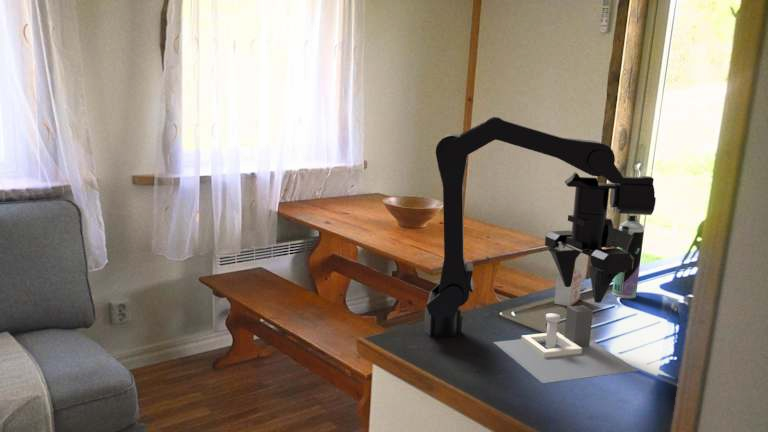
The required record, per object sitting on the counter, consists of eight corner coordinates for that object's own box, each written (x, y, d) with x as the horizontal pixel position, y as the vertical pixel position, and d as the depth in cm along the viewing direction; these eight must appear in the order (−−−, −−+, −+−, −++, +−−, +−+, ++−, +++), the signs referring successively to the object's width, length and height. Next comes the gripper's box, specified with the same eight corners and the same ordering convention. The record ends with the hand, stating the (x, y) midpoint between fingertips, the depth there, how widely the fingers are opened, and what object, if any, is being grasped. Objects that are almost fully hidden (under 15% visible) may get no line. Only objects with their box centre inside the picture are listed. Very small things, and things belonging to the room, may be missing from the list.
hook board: (541, 391, 99) (545, 347, 98) (492, 349, 115) (495, 311, 113) (638, 378, 105) (643, 337, 103) (578, 340, 121) (582, 303, 119)
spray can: (633, 300, 146) (643, 218, 142) (610, 295, 149) (619, 215, 145) (637, 294, 151) (647, 215, 147) (614, 290, 153) (623, 212, 150)
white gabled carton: (554, 303, 142) (558, 262, 140) (564, 296, 147) (568, 256, 145) (569, 307, 140) (573, 265, 138) (579, 299, 145) (583, 259, 143)
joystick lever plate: (543, 357, 108) (547, 320, 107) (521, 340, 116) (523, 305, 114) (597, 351, 112) (601, 315, 110) (572, 335, 119) (575, 301, 118)
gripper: (664, 220, 104) (653, 307, 107) (595, 201, 121) (588, 276, 124) (609, 223, 100) (600, 313, 103) (546, 203, 118) (540, 280, 121)
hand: (582, 294), depth 113 cm, fingers open, 9 cm apart
